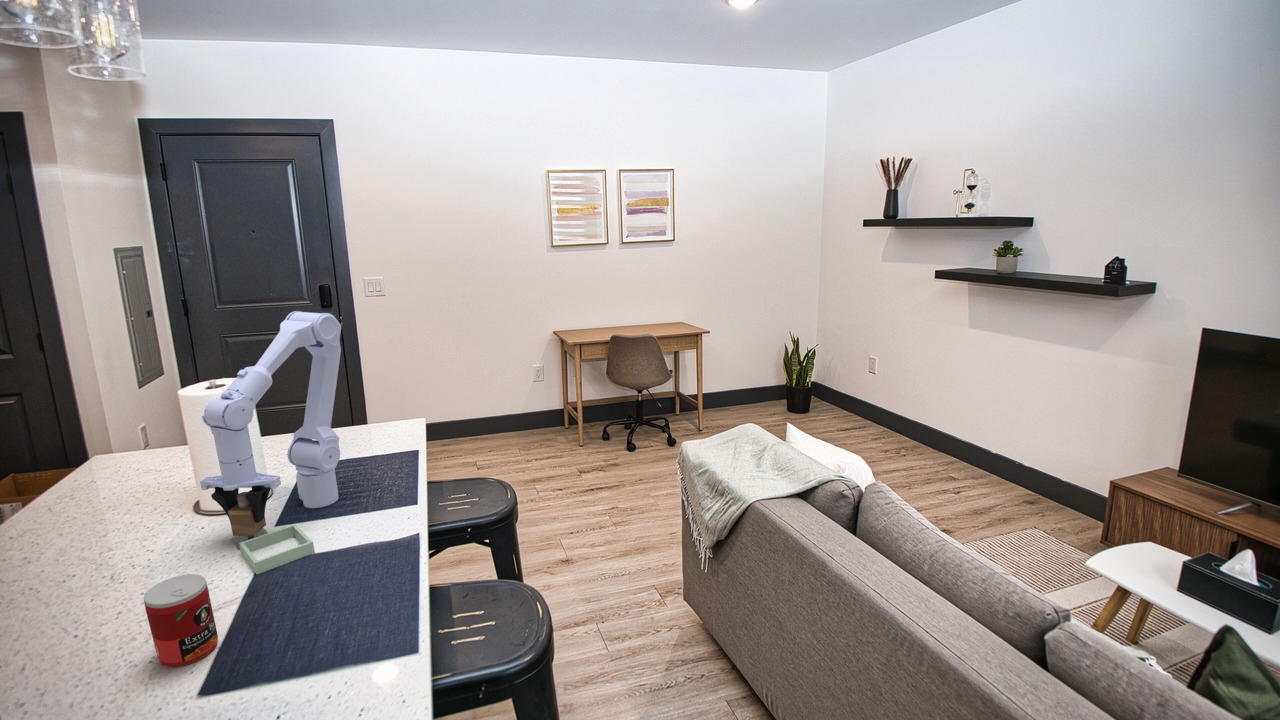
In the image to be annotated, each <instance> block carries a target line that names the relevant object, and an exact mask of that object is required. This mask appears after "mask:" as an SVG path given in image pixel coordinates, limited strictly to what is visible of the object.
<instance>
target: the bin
mask: <svg viewBox="0 0 1280 720" xmlns="http://www.w3.org/2000/svg"><path fill="white" fill-rule="evenodd" d="M291 538H296V540H297V541H298V542H299V543H300V544H299V545H296V546H294V547H290V548H288V549H285V550H283V551H280V552H277V553H274V554H272V555H269V556H266V557H264V558H260V559H257V558H256V557H255V555H254V554H253V552H255V551H258V550H261V549H263V548H266V547H267V548H268V547H269V546H273V545H275V544H277V543H281V542H282V541H286V540H289V539H291ZM239 544H240V550H239V551H240V553H241V556H242V557H243V558H244V560H245V561H246V562H247V564H248V565H249V566H250V568H251V569H252V570H253V571H254V573H255V574H256V575H260V574H262V573H266V572H267V571H270V570H272V569H276V568H278V567H280V566H283V565H286V564H289V563H291V562H294V561H297V560H299V559H301V558H304V557H307V556H310V555H312V554H315V546H314V542H313V540H312V539H311V538H310V537H309V536H308V535H307V534H306V533H305V532H304V531H303V530H302V529H301V528H300V527H299V526H298V525H297V524H296V523H294V524H291V525H288V526H285V527H282V528H279V529H276V530H273V531H270V532H267V534H264V535H262V536H259V537H256V538H253V539H250V540H247V541H244V542H241V543H239Z"/></svg>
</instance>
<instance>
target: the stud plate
mask: <svg viewBox="0 0 1280 720" xmlns="http://www.w3.org/2000/svg"><path fill="white" fill-rule="evenodd" d="M267 533H268V532H267V530H266V529H265V528H264V527H263V528H262V529H261V530H260V531H259V532H258V533H257V534H256V535H255V536H233V537H232V538H230V539H229V540H230V541H231V542H232V544H233V546H235V548H236V549H237V550H238V551H241V550H240V544H239V543H241V542H244V541H247V540H250V539H253V538H256V537H259V536H262V535H264V534H267Z"/></svg>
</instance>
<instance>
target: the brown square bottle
mask: <svg viewBox="0 0 1280 720" xmlns="http://www.w3.org/2000/svg"><path fill="white" fill-rule="evenodd" d="M247 492H248V491H243V492H238V494H237V501H238V504H236V505H235V506H234V507H233V508H231V509H230V510H229V511H228V513H229V518H230V519H229V518H228V519H229V522H230V529H231V532H232V537H237V536H255V535H256V534H257V533H258V532H259V531H260V530H261V529H262V528H264V527H266V526H267V521H266V516H265V517H264V519H263V520H261V521H260V522H259V523H256V522H255V520H254V517H253V512H252V508H251V505H250V503H249V501H248V499H247V498H246V496H245V494H246V493H247Z"/></svg>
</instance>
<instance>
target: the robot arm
mask: <svg viewBox="0 0 1280 720" xmlns="http://www.w3.org/2000/svg"><path fill="white" fill-rule="evenodd" d="M341 331H342V325H341V323H340V322H339V321H338V319H337V318H336V317H335V315H333V314H332V313H329V312H321V313H319V312H309V311H308V312H306V311H299V310H296V311H291V312H290V313H288V314H287V316H286V317H285V319H284V320H283V321H282V322H281V323H280V324H279V331H278V333H277V335H275V337H274V339H273V340H272V342H271V343H270V344H269V346H268V347H267V349H266V350H265V351H264V353H263V354H262V356H261V357H260V358H259V360H258V361H257V362H256V364H255V365H253V366H252V365H251V366H246V367H244V368H243V369H240V370H239V371H238V372H237V373H236V375H237V376H236V377H235V379H234V380H233V381H232V382H231V384H230V385H229V386H228V387H227V388H226V389H225V390H223V392H222V393H221V395H220V397H216V398H214V399H212V400H210V402H209V403H207V405H206V406H205V407H204V412H203V415H202V416H201V420H202V421H203V423H204V424H205V425H206V426H207V427H209V428H210V431H211V435H212V436H213V440H214V445H215V449H216V454H217V460H218V465H219V469H220V474H221V475H215V476H206V477H204V478H203V479H201V480H199V483H200V488H201V491H208V490H209V489H214V492H213V493H211V494H210V495H211V499H212V500H213V501H214V502H216V503H217V504H218V505H219V506H220V507H221V509H222V510H223V511H224V512H225V514H226V516H227V518H228V519H229V520H230V518H229V513H228V511H229V510H230V509H231V508H233V507H234V506H235V505H236V504H238V501H237V494H239V493H240V492H239V489H241V488H242V489H244V488H246V489H249V488H251V489H250V490H249V491H246V492H247V493H246V494H245V496H246V498H247V499H248V501H249V503H250V505H251V508H252V512H253V517H254V520H255V522H256V523H259V522H260V521H261V520H263V519H264V517H265V518H266V516H265V514H266V507H267V506H266V505H267V503H268V502H267V500H268V498H269V495H270V492H271V489H272V490H273V489H274V490H275V489H277V488H279V487H280V486H281V485H282V483H281V477H280V475H272V474H266V473H262V472H261V473H260V472H257V468H256V464H255V458H254V457H255V456H254V452H253V448H252V442H251V436H250V433H249V424H251V422H252V421H253V418H254V410H255V409H256V405H257V404H258V402H259V401H260V399H261V398H262V397H263V396H264V395H265V394H266V392H267V391H268V390H269V389H270V387H271V386H272V385H273V378H272V375H273V374H274V373H275V372H277V370H278V369H279V367H281V366H282V365H283V363H284V362H286V360H287V359H288V358H289V357H290V356H291V355H292V354H293V353H294V351H296V350H297V349H299V348H303V347H305V349H306V350H307V351H308V352H309V353H310V354H311V356H312V361H311V367H310V374H309V382H308V388H307V396H306V403H305V411H304V417H303V419H304V420H303V424H302V426H301V427H299V429H297V430H296V431H295V432H293V438H292V441H291V443H290V445H289V447H288V448H287V459H288V461H289V463H290V464H291V465H292V466H295V471H297V472H296V475H295V479H296V486H297V491H298V497H299V499H300V500H301V501H302V503H303V506H304V507H305V508H308V509H317V508H319V509H320V508H324V507H327V506H330V505H332V504H334V503H336V502H337V501H338V500H339V489H338V483H337V476H336V470H335V468H337V465H338V464H339V461H340V458H341V449H340V443H339V442H340V437H339V435H338V434H337V433H336V432H335V430H333V428H332V420H333V414H334V413H333V412H334V407H335V406H334V404H335V397H336V389H337V383H338V374H339V369H340V368H339V367H340V359H341V354H342V353H341V352H342V348H341V341H340V338H341Z"/></svg>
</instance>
